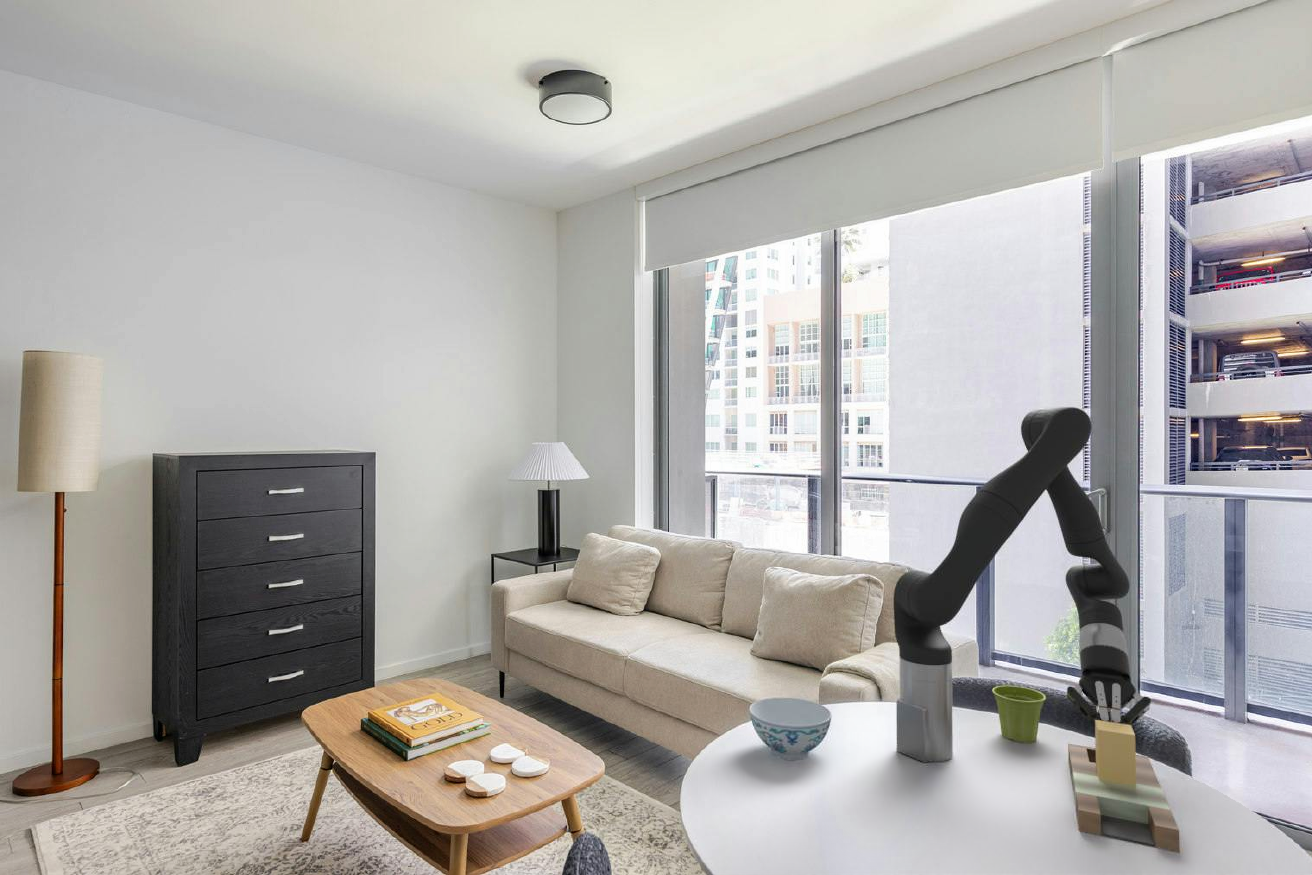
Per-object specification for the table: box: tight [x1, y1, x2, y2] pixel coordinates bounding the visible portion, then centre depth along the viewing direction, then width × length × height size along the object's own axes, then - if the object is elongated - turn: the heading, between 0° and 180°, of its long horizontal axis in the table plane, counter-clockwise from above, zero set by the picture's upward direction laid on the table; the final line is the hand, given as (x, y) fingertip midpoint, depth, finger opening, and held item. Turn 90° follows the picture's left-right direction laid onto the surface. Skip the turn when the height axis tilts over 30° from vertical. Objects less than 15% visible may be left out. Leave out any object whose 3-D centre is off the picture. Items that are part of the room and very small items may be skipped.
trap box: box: [1067, 743, 1181, 853], centre depth 113 cm, size 28×12×3 cm, turn 152°
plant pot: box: [991, 685, 1047, 744], centre depth 139 cm, size 9×9×9 cm
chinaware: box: [749, 696, 832, 761], centre depth 130 cm, size 15×15×8 cm
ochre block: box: [1094, 720, 1137, 787], centre depth 114 cm, size 5×5×8 cm
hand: (1112, 746), depth 117 cm, fingers closed
